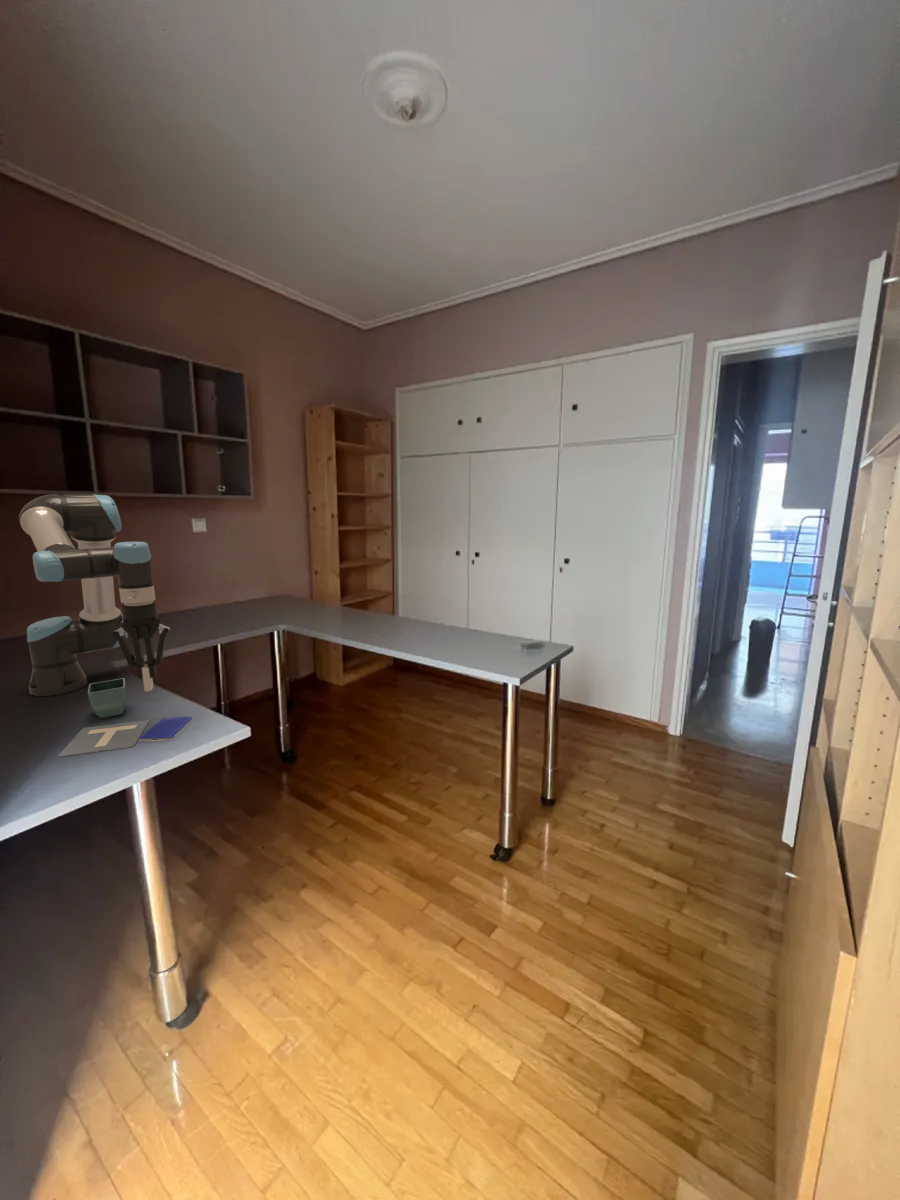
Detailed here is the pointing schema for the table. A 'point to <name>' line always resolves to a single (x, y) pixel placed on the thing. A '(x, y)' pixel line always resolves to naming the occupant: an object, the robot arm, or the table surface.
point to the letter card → (105, 738)
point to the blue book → (166, 728)
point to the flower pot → (107, 697)
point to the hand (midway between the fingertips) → (149, 689)
